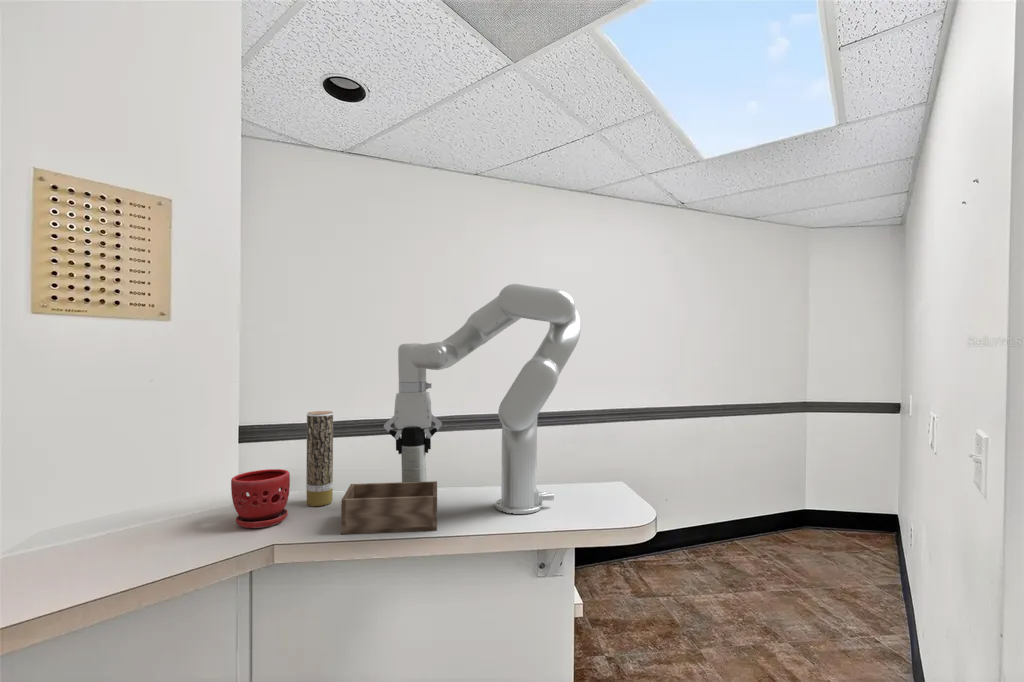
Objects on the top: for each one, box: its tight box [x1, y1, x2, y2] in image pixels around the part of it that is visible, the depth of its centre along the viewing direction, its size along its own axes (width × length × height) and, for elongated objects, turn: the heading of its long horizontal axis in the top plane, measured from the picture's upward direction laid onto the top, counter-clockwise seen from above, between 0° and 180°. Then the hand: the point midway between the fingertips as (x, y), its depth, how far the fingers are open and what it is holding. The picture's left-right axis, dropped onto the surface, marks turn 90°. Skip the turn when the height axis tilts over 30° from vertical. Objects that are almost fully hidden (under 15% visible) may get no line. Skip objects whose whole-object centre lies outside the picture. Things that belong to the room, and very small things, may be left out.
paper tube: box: [305, 410, 334, 507], centre depth 147 cm, size 7×7×25 cm
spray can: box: [400, 427, 427, 482], centre depth 147 cm, size 7×7×20 cm
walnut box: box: [340, 480, 438, 536], centre depth 132 cm, size 22×14×8 cm, turn 98°
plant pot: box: [230, 468, 291, 529], centre depth 131 cm, size 13×13×12 cm
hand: (413, 452), depth 147 cm, fingers closed on spray can, 6 cm apart
